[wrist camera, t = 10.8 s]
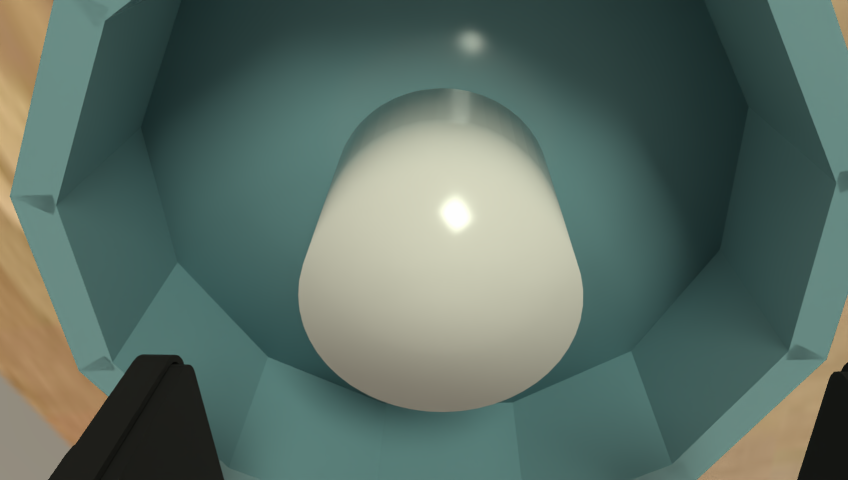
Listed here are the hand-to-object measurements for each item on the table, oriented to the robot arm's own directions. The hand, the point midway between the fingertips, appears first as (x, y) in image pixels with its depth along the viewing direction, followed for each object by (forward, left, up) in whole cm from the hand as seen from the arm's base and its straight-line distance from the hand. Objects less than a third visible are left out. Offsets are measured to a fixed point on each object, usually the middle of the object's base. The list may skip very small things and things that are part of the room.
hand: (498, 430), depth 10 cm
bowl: (+1, 0, -8) cm, 8 cm away
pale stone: (+1, 0, -8) cm, 8 cm away
